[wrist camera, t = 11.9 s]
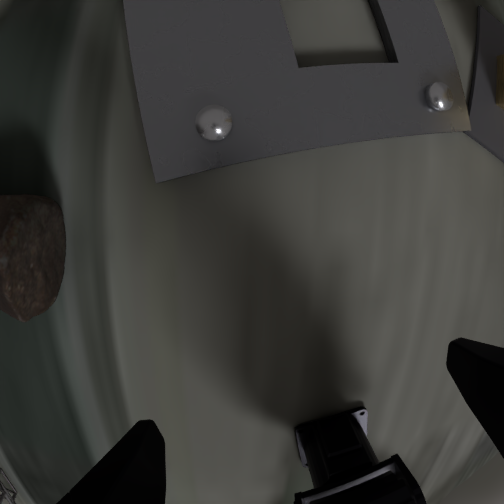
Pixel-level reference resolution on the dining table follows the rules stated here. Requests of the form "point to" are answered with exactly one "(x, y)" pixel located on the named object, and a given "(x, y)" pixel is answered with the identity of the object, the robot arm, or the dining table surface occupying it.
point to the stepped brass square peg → (500, 82)
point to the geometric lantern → (4, 494)
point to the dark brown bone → (30, 254)
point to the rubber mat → (487, 86)
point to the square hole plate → (280, 83)
